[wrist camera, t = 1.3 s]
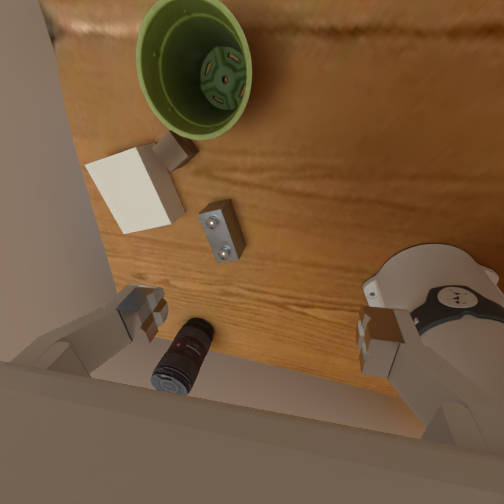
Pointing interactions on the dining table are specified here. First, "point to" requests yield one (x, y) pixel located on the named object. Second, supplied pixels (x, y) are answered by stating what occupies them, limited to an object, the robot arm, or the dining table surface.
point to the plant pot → (193, 66)
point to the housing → (222, 231)
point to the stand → (137, 189)
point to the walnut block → (174, 150)
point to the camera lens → (183, 358)
